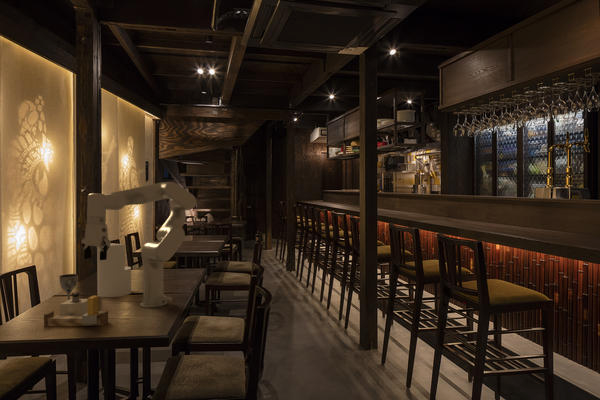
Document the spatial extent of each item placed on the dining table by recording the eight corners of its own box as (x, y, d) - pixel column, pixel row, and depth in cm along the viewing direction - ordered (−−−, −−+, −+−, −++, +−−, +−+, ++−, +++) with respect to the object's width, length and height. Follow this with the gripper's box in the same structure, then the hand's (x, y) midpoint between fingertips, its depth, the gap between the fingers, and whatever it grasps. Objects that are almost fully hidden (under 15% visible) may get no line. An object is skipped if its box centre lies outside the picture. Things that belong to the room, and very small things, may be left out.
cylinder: (111, 298, 218) (110, 246, 218) (90, 295, 227) (90, 244, 227) (138, 292, 233) (137, 242, 233) (118, 288, 242) (117, 241, 242)
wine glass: (57, 308, 200) (57, 277, 200) (62, 304, 208) (62, 274, 208) (75, 306, 202) (75, 276, 202) (79, 302, 210) (79, 273, 210)
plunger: (82, 306, 187) (81, 292, 187) (77, 309, 183) (77, 293, 183) (74, 307, 187) (73, 292, 187) (69, 309, 183) (69, 293, 183)
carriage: (104, 319, 178) (103, 295, 178) (96, 324, 171) (96, 298, 171) (90, 319, 178) (89, 295, 178) (82, 324, 171) (81, 299, 171)
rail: (108, 322, 177) (108, 310, 177) (102, 325, 172) (102, 314, 172) (51, 322, 177) (51, 311, 177) (44, 326, 172) (43, 314, 172)
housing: (91, 313, 190) (90, 298, 190) (80, 320, 180) (80, 304, 180) (71, 314, 190) (71, 299, 190) (59, 320, 180) (59, 304, 180)
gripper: (117, 221, 184) (116, 259, 184) (90, 220, 191) (89, 257, 191) (103, 221, 177) (102, 261, 177) (75, 220, 184) (74, 258, 184)
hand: (95, 259), depth 184 cm, fingers open, 9 cm apart
